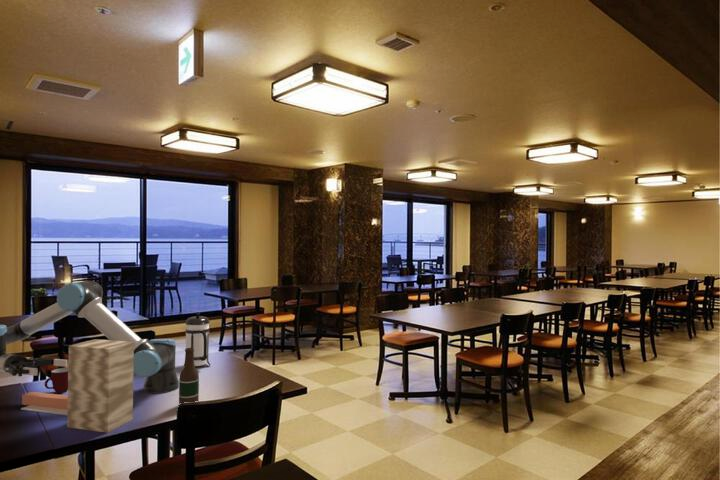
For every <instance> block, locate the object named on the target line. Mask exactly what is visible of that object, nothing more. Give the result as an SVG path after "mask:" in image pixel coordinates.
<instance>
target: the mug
mask: <svg viewBox="0 0 720 480" xmlns="http://www.w3.org/2000/svg"><path fill="white" fill-rule="evenodd" d="M44 381H45V382H44V387H45V388H46V389H48V390H54V391H55V393H56V394H58V395H61V394H65V393H68V367H61V368H56V369H52V370H51V372H50V377H48V378H47V379H45V380H44ZM49 381H51V385H52V386H48V383H49Z"/></svg>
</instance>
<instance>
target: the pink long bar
mask: <svg viewBox="0 0 720 480" xmlns="http://www.w3.org/2000/svg"><path fill="white" fill-rule="evenodd" d="M21 405H23V406H29V405H31V406H40V407H49V408H58V409H67V410H68V394H67V395H65V394H58V393H56V394H55V393H46V392H35V391H30V392H25V393H23V394H22V395H21Z"/></svg>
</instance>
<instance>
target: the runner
mask: <svg viewBox="0 0 720 480" xmlns="http://www.w3.org/2000/svg"><path fill="white" fill-rule="evenodd" d="M20 410H21V411H30V412H37V413H44V414H45V413H47V414H51V415H52V414H53V415H62V416H68V410H67V409H58V408H49V407H40V406H31V405H26V406H25V407H21V408H20Z"/></svg>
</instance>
